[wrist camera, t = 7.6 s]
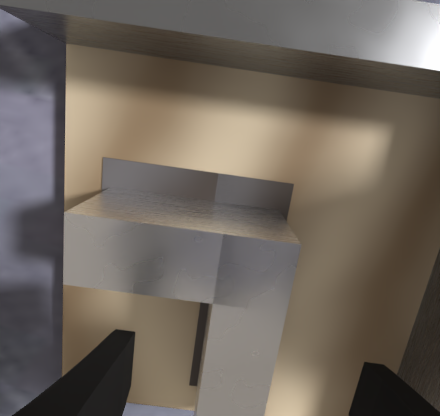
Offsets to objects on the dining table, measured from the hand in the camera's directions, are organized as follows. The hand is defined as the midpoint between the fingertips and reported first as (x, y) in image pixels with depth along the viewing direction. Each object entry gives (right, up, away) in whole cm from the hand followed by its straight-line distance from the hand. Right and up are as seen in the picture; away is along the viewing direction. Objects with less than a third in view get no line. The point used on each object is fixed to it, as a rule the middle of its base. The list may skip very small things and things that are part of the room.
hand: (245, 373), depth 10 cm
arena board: (+1, +3, +5) cm, 6 cm away
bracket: (-3, +1, +5) cm, 5 cm away
